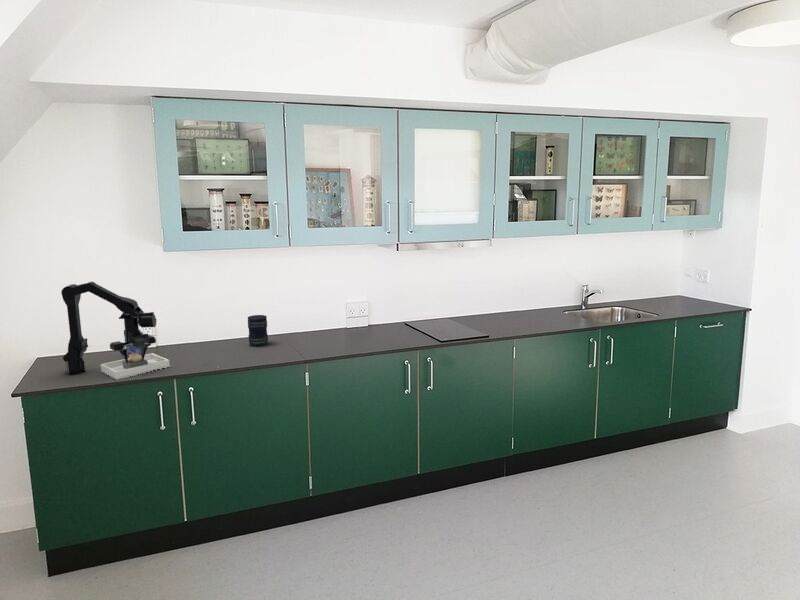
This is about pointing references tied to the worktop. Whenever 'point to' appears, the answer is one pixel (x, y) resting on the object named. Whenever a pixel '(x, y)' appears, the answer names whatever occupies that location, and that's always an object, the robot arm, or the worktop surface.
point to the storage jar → (257, 331)
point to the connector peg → (134, 358)
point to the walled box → (134, 366)
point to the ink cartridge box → (133, 348)
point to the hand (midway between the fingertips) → (135, 361)
